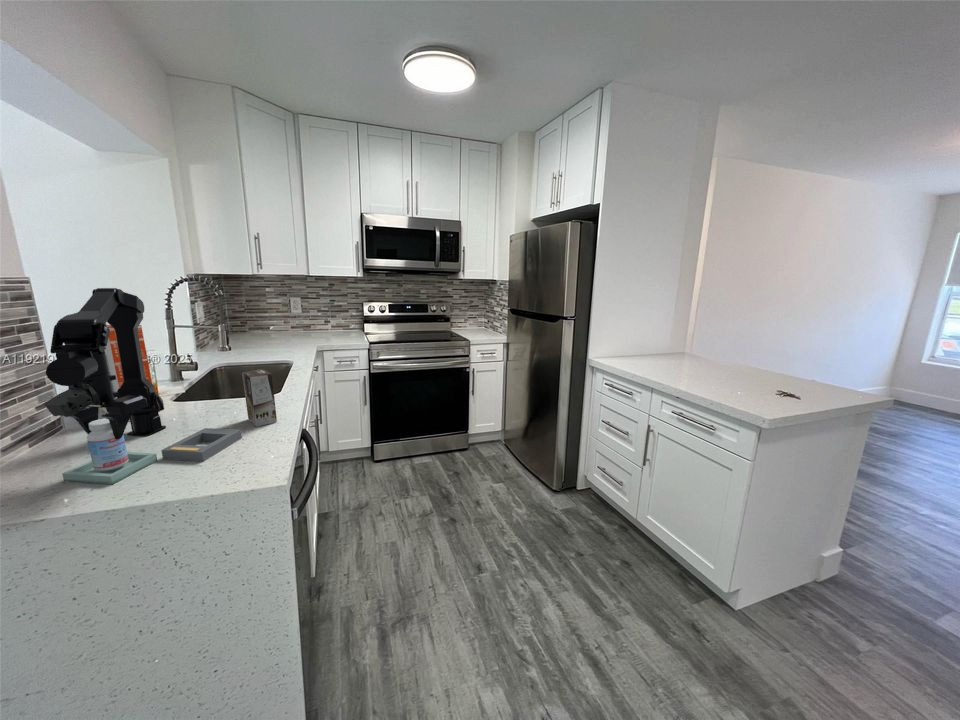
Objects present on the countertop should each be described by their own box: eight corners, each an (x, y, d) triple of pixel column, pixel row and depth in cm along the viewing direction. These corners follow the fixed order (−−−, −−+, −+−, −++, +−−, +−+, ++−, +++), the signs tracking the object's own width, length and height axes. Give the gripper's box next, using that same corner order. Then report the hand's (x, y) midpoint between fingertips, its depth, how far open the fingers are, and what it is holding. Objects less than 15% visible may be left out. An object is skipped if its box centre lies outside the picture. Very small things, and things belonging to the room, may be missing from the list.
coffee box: (278, 422, 121) (272, 373, 117) (255, 427, 116) (249, 377, 113) (269, 414, 127) (263, 368, 123) (247, 419, 123) (241, 371, 119)
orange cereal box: (158, 414, 125) (141, 325, 118) (126, 422, 118) (106, 327, 112) (130, 402, 136) (113, 319, 130) (100, 408, 130) (80, 322, 123)
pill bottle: (107, 473, 87) (97, 427, 84) (86, 470, 88) (76, 425, 85) (136, 460, 92) (127, 417, 90) (116, 458, 93) (106, 415, 91)
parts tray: (64, 481, 85) (61, 473, 85) (113, 458, 96) (112, 451, 96) (112, 484, 84) (111, 476, 84) (157, 460, 95) (156, 453, 95)
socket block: (163, 459, 96) (161, 449, 95) (206, 436, 110) (204, 427, 109) (203, 461, 95) (201, 451, 95) (242, 438, 109) (240, 429, 108)
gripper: (8, 382, 78) (27, 451, 81) (90, 386, 76) (106, 456, 80) (69, 368, 89) (84, 430, 92) (143, 371, 87) (155, 434, 91)
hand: (106, 437), depth 88 cm, fingers closed on pill bottle, 6 cm apart
